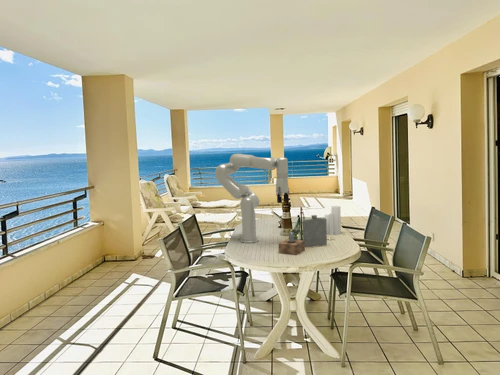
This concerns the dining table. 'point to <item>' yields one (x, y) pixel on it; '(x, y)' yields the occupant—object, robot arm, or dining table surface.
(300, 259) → the dining table surface
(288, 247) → the wooden square hole block
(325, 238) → the hip flask
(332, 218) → the vase
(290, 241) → the grey metal rod
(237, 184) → the robot arm
